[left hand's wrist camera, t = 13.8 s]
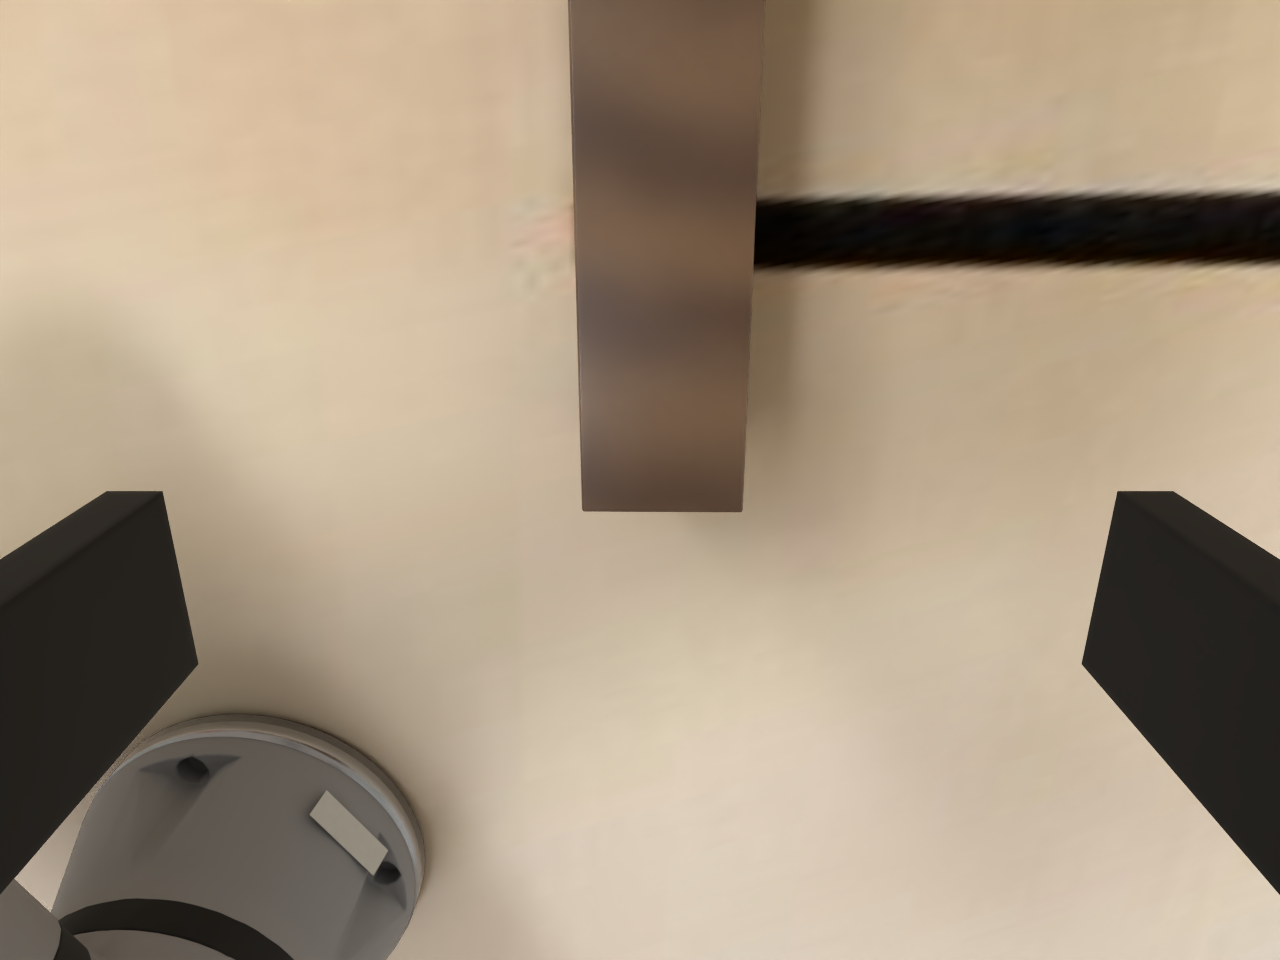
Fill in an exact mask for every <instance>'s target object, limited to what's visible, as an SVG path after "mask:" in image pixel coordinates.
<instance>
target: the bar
mask: <svg viewBox="0 0 1280 960" xmlns="http://www.w3.org/2000/svg"><path fill="white" fill-rule="evenodd" d="M568 15H569V51H570V87H571V123H572V159H573V196H574V232H575V268H576V304H577V340H578V377H579V413H580V449H581V485H582V510H583V511H612V512H742V510H743V489H744V466H745V444H746V422H747V399H748V377H749V354H750V332H751V310H752V287H753V265H754V242H755V220H756V197H757V175H758V153H759V130H760V108H761V85H762V63H763V41H764V18H765V0H568Z"/></svg>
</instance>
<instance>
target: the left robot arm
mask: <svg viewBox="0 0 1280 960" xmlns="http://www.w3.org/2000/svg"><path fill="white" fill-rule="evenodd" d="M197 665H198V660H197V655H196V651H195V646H194V641H193V636H192V631H191V626H190V622H189V617H188V612H187V607H186V602H185V598H184V593H183V588H182V583H181V578H180V573H179V569H178V564H177V559H176V554H175V549H174V545H173V540H172V535H171V530H170V525H169V520H168V516H167V511H166V506H165V501H164V496H163V492H162V491H106V492H105V493H103V494H102V495H100V496H99V497H97V498H96V499H94V500H92V501H91V502H89V503H88V504H86V505H85V506H83V507H81V508H80V509H78V510H77V511H75V512H74V513H72V514H71V515H69V516H67V517H66V518H64V519H63V520H61V521H60V522H58V523H57V524H55V525H53V526H52V527H50V528H49V529H47V530H46V531H44V532H42V533H41V534H39V535H38V536H36V537H35V538H33V539H32V540H30V541H28V542H27V543H25V544H24V545H22V546H21V547H19V548H17V549H16V550H14V551H13V552H11V553H10V554H8V555H7V556H5V557H3V558H2V559H0V960H386V959H387V958H388V956H389V955H390V954H391V952H392V951H393V950H394V948H395V947H396V945H397V944H398V942H399V940H400V938H401V937H402V935H403V933H404V932H405V930H406V928H407V926H408V924H409V922H410V919H411V917H412V915H413V911H414V908H415V905H416V902H417V899H418V895H419V892H420V889H421V885H422V881H423V877H424V869H425V851H424V844H423V839H422V835H421V831H420V828H419V825H418V823H417V820H416V817H415V815H414V813H413V811H412V809H411V807H410V805H409V804H408V802H407V801H406V799H405V798H404V796H403V795H402V793H401V792H400V791H399V789H398V788H397V787H396V785H395V784H394V783H393V782H392V781H391V780H390V779H389V778H388V776H387V775H386V774H385V773H384V772H383V771H382V770H381V769H379V768H378V767H377V766H376V765H375V764H374V763H373V762H371V761H370V760H369V759H368V758H366V757H365V756H364V755H362V754H361V753H359V752H358V751H357V750H355V749H353V748H352V747H350V746H349V745H347V744H345V743H344V742H342V741H340V740H338V739H336V738H334V737H332V736H330V735H328V734H326V733H324V732H321V731H319V730H316V729H314V728H311V727H308V726H305V725H302V724H299V723H296V722H292V721H288V720H284V719H280V718H274V717H268V716H261V715H249V714H225V715H213V716H207V717H201V718H196V719H192V720H188V721H185V722H181V723H179V724H176V725H173V726H171V727H168V728H166V729H164V730H162V731H160V732H158V733H156V734H154V735H153V736H151V737H150V738H148V739H147V740H145V741H143V742H142V743H141V744H140V745H139V746H137V747H136V748H135V749H134V750H133V751H132V752H131V753H130V754H129V755H128V756H127V757H126V758H125V759H124V760H123V761H122V763H121V764H120V765H119V766H118V767H117V768H116V770H115V771H114V772H113V773H112V774H111V775H110V777H109V778H108V779H107V780H106V781H105V783H104V784H103V785H102V787H101V788H100V789H99V791H98V792H97V794H96V796H95V798H94V800H93V802H92V803H91V806H90V808H89V810H88V811H87V813H86V816H85V818H84V820H83V823H82V826H81V828H80V831H79V834H78V837H77V840H76V843H75V846H74V848H73V851H72V854H71V857H70V860H69V863H68V865H67V868H66V871H65V874H64V877H63V880H62V882H61V885H60V888H59V891H58V894H57V897H56V900H55V902H54V905H53V908H52V911H51V913H50V912H49V911H48V910H47V909H46V908H45V907H44V906H43V905H42V904H41V903H39V902H38V901H37V900H36V899H35V898H34V897H33V896H32V895H31V894H30V893H29V892H28V891H27V890H25V889H24V888H23V887H22V886H21V885H20V884H19V883H18V882H17V881H16V880H15V879H14V878H15V877H16V876H17V875H18V873H19V872H20V871H21V870H22V869H23V868H24V866H25V865H26V864H27V863H28V862H29V861H30V859H31V858H32V857H33V856H34V855H35V854H36V852H37V851H38V850H39V849H40V848H41V847H42V845H43V844H44V843H45V842H46V841H47V840H48V838H49V837H50V836H51V835H52V834H53V833H54V832H55V830H56V829H57V828H58V827H59V826H60V825H61V823H62V822H63V821H64V820H65V819H66V818H67V816H68V815H69V814H70V813H71V812H72V811H73V809H74V808H75V807H76V806H77V805H78V804H79V802H80V801H81V800H82V799H83V798H84V797H85V795H86V794H87V793H88V792H89V791H90V790H91V788H92V787H93V786H94V785H95V784H96V783H97V781H98V780H99V779H100V778H101V777H102V776H103V774H104V773H105V772H106V771H107V770H108V769H109V767H110V766H111V765H112V764H113V763H114V762H115V760H116V759H117V758H118V757H119V756H120V755H121V753H122V752H123V751H124V750H125V749H126V748H127V747H128V745H129V744H130V743H131V742H132V741H133V740H134V738H135V737H136V736H137V735H138V734H139V733H140V731H141V730H142V729H143V728H144V727H145V726H146V724H147V723H148V722H149V721H150V720H151V719H152V717H153V716H154V715H155V714H156V713H157V712H158V710H159V709H160V708H161V707H162V706H163V705H164V703H165V702H166V701H167V700H168V699H169V698H170V696H171V695H172V694H173V693H174V692H175V691H176V689H177V688H178V687H179V686H180V685H181V684H182V682H183V681H184V680H185V679H186V678H187V677H188V675H189V674H190V673H191V672H192V671H193V670H194V668H195V667H196V666H197ZM1082 665H1083V666H1084V667H1085V668H1086V670H1087V671H1088V672H1089V673H1090V674H1091V675H1092V677H1093V678H1094V679H1095V680H1096V681H1097V682H1098V684H1099V685H1100V686H1101V687H1102V688H1103V689H1104V691H1105V692H1106V693H1107V694H1108V695H1109V696H1110V698H1111V699H1112V700H1113V701H1114V702H1115V703H1116V705H1117V706H1118V707H1119V708H1120V709H1121V710H1122V712H1123V713H1124V714H1125V715H1126V716H1127V717H1128V719H1129V720H1130V721H1131V722H1132V723H1133V724H1134V726H1135V727H1136V728H1137V729H1138V730H1139V731H1140V733H1141V734H1142V735H1143V736H1144V737H1145V738H1146V740H1147V741H1148V742H1149V743H1150V744H1151V745H1152V747H1153V748H1154V749H1155V750H1156V751H1157V752H1158V753H1159V755H1160V756H1161V757H1162V758H1163V759H1164V760H1165V762H1166V763H1167V764H1168V765H1169V766H1170V767H1171V769H1172V770H1173V771H1174V772H1175V773H1176V774H1177V776H1178V777H1179V778H1180V779H1181V780H1182V781H1183V783H1184V784H1185V785H1186V786H1187V787H1188V788H1189V790H1190V791H1191V792H1192V793H1193V794H1194V795H1195V797H1196V798H1197V799H1198V800H1199V801H1200V802H1201V804H1202V805H1203V806H1204V807H1205V808H1206V809H1207V811H1208V812H1209V813H1210V814H1211V815H1212V816H1213V818H1214V819H1215V820H1216V821H1217V822H1218V823H1219V825H1220V826H1221V827H1222V828H1223V829H1224V830H1225V832H1226V833H1227V834H1228V835H1229V836H1230V837H1231V838H1232V840H1233V841H1234V842H1235V843H1236V844H1237V845H1238V847H1239V848H1240V849H1241V850H1242V851H1243V852H1244V854H1245V855H1246V856H1247V857H1248V858H1249V859H1250V861H1251V862H1252V863H1253V864H1254V865H1255V866H1256V868H1257V869H1258V870H1259V871H1260V872H1261V873H1262V875H1263V876H1264V877H1265V878H1266V879H1267V880H1268V882H1269V883H1270V884H1271V885H1272V886H1273V887H1274V889H1275V890H1276V891H1277V892H1278V893H1279V894H1280V559H1278V558H1277V557H1275V556H1273V555H1272V554H1270V553H1269V552H1267V551H1266V550H1264V549H1263V548H1261V547H1259V546H1258V545H1256V544H1255V543H1253V542H1252V541H1250V540H1248V539H1247V538H1245V537H1244V536H1242V535H1241V534H1239V533H1238V532H1236V531H1234V530H1233V529H1231V528H1230V527H1228V526H1227V525H1225V524H1223V523H1222V522H1220V521H1219V520H1217V519H1216V518H1214V517H1213V516H1211V515H1209V514H1208V513H1206V512H1205V511H1203V510H1202V509H1200V508H1199V507H1197V506H1195V505H1194V504H1192V503H1191V502H1189V501H1188V500H1186V499H1184V498H1183V497H1181V496H1180V495H1178V494H1177V493H1175V492H1174V491H1118V492H1117V496H1116V501H1115V506H1114V511H1113V516H1112V520H1111V525H1110V530H1109V535H1108V540H1107V545H1106V549H1105V554H1104V559H1103V564H1102V569H1101V573H1100V578H1099V583H1098V588H1097V593H1096V598H1095V602H1094V607H1093V612H1092V617H1091V622H1090V626H1089V631H1088V636H1087V641H1086V646H1085V651H1084V655H1083V660H1082Z"/></svg>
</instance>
